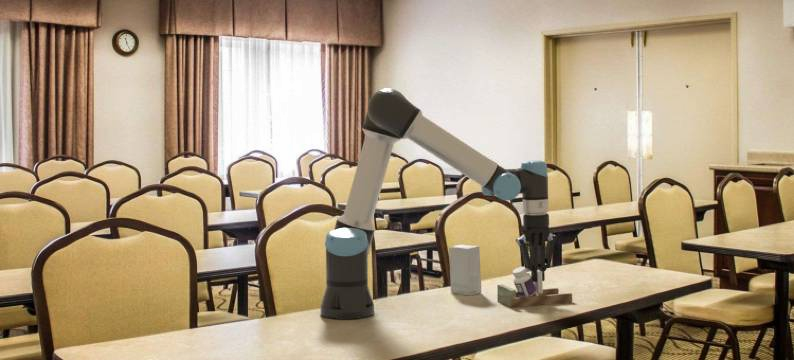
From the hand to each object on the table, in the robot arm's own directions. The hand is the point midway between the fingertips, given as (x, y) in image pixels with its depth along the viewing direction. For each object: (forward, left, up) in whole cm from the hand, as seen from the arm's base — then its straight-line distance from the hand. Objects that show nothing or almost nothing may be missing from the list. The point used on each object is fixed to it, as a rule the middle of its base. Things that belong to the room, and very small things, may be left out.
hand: (538, 292), depth 267 cm
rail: (-1, 0, -3) cm, 3 cm away
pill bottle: (-3, 0, -2) cm, 3 cm away
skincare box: (-15, +19, -3) cm, 25 cm away
